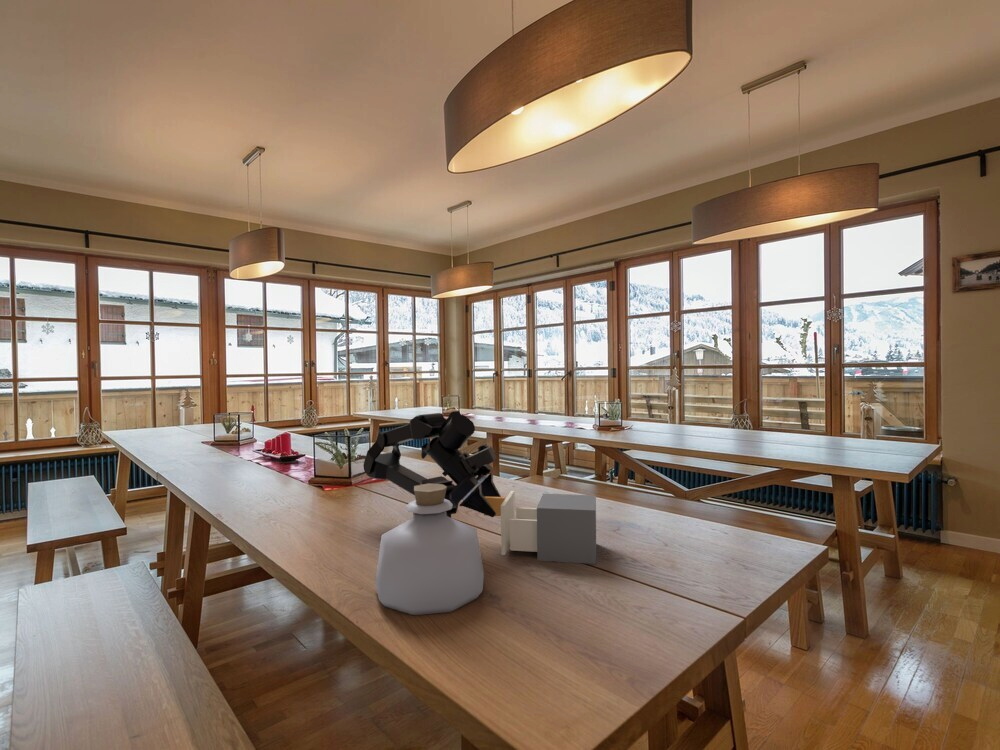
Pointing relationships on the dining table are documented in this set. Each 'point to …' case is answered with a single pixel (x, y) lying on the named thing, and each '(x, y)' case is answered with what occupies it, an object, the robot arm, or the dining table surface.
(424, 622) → the dining table surface
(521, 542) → the white drawer unit
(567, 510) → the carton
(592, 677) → the dining table surface
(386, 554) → the bottle
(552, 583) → the dining table surface
